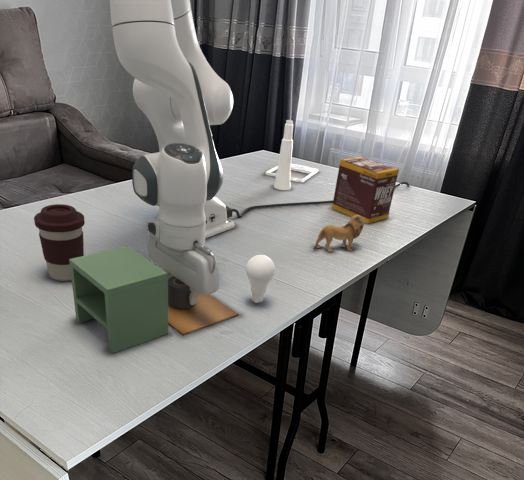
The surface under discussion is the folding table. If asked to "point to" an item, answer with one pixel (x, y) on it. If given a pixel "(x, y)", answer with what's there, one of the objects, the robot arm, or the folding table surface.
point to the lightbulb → (259, 275)
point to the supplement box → (364, 188)
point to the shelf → (121, 295)
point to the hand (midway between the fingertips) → (181, 295)
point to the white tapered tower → (285, 159)
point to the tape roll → (178, 293)
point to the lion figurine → (342, 233)
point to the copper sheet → (199, 315)
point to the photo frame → (297, 168)
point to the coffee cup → (60, 238)
